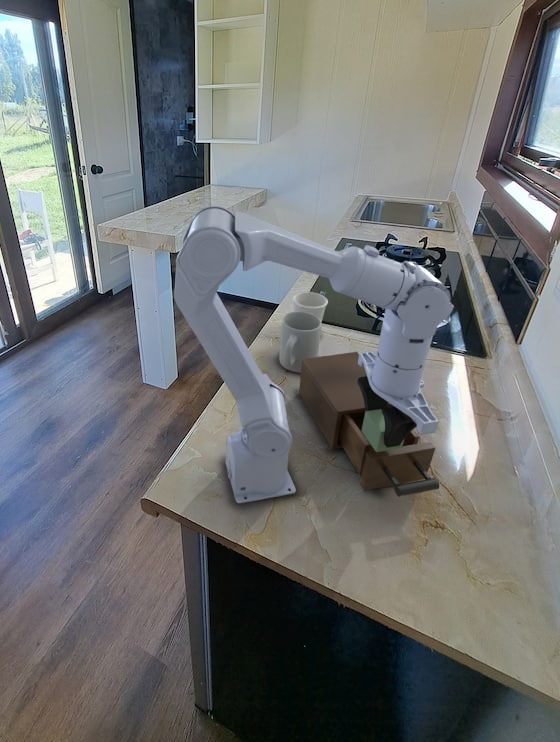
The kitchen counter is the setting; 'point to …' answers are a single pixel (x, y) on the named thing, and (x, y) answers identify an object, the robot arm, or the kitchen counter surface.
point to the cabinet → (332, 391)
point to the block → (376, 430)
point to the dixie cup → (310, 303)
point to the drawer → (387, 459)
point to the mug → (299, 339)
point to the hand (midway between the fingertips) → (382, 432)
